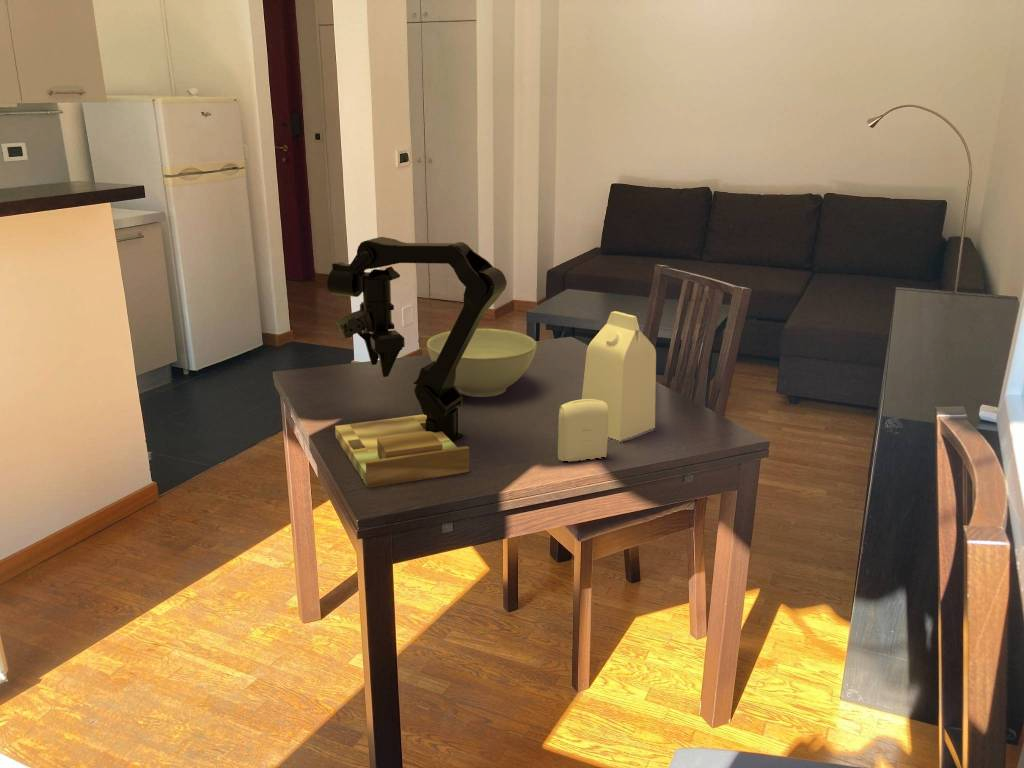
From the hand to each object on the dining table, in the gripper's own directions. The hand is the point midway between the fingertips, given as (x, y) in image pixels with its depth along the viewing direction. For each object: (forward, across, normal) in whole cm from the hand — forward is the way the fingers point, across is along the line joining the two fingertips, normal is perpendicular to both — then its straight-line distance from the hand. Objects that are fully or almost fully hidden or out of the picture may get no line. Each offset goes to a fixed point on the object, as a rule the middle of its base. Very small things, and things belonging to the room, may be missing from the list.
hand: (379, 370), depth 184 cm
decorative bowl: (+13, -16, +30) cm, 36 cm away
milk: (+13, +20, +48) cm, 53 cm away
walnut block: (+10, +24, -1) cm, 26 cm away
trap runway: (+13, +15, 0) cm, 20 cm away
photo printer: (+13, +31, +33) cm, 47 cm away
